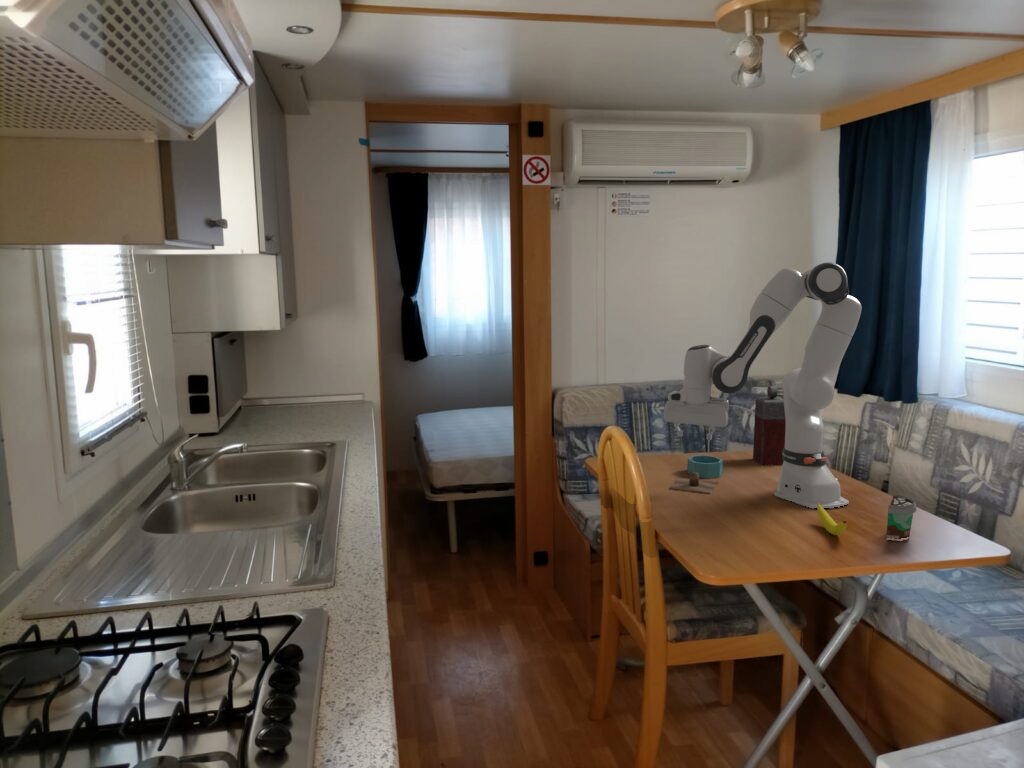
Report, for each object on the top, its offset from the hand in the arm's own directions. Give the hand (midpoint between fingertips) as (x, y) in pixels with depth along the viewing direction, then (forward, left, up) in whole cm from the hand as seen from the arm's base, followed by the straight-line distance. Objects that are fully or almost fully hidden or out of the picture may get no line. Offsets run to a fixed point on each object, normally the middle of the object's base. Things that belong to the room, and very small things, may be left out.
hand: (694, 437), depth 243 cm
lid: (0, 0, -17) cm, 17 cm away
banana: (-48, -14, -17) cm, 53 cm away
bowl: (+12, -11, -16) cm, 23 cm away
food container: (-57, -29, -16) cm, 66 cm away
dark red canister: (+18, -42, -16) cm, 49 cm away
